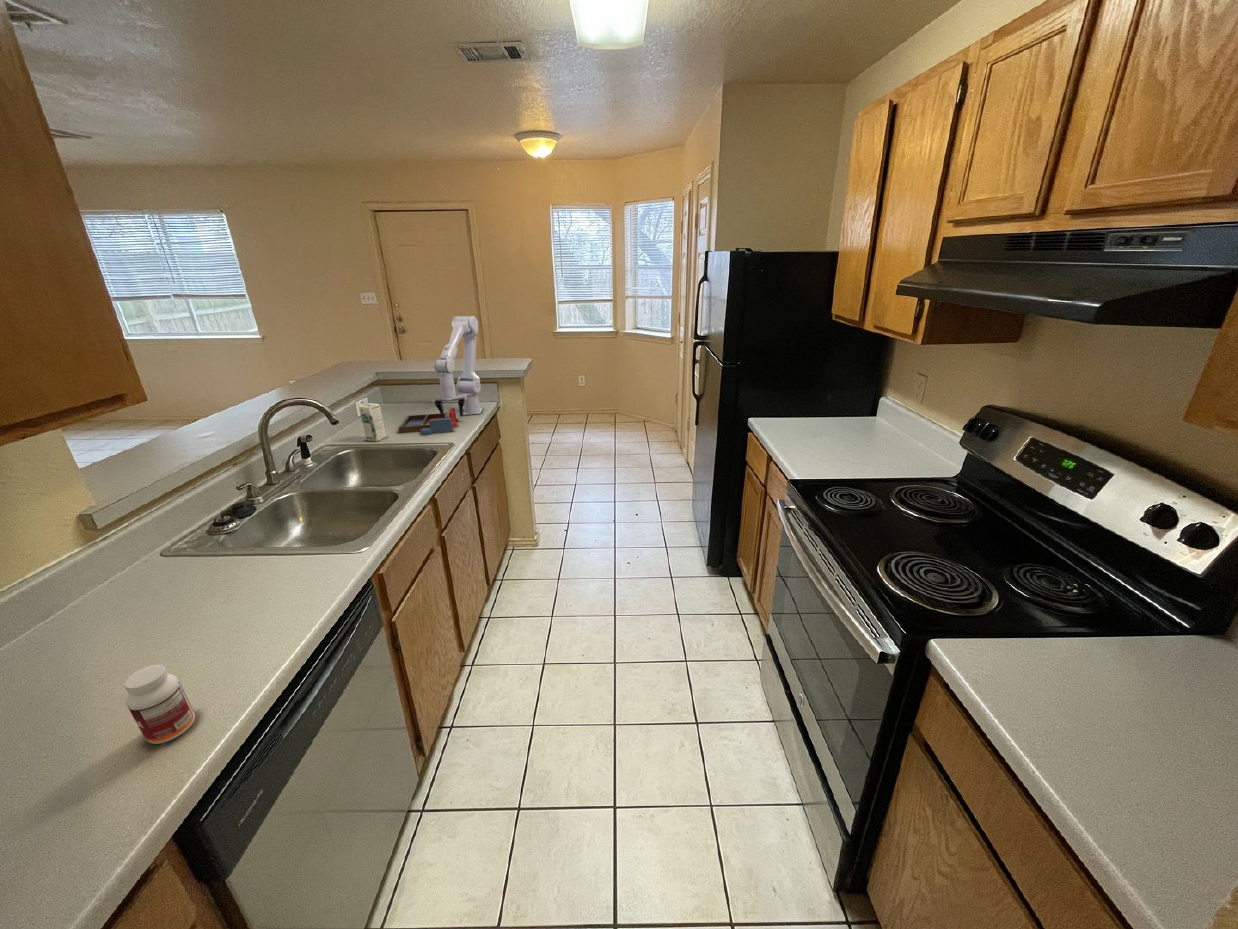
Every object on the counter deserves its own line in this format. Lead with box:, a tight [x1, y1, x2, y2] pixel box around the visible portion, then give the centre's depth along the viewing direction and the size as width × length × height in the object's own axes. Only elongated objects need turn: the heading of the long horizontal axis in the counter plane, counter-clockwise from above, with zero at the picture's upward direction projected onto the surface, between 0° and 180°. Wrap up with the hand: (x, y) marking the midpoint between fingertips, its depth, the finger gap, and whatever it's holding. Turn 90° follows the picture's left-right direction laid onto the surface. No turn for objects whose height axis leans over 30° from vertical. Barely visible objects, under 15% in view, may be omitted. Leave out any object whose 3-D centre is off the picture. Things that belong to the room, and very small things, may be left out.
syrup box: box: [358, 402, 387, 442], centre depth 206 cm, size 6×6×14 cm
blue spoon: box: [420, 418, 454, 436], centre depth 213 cm, size 13×4×6 cm, turn 100°
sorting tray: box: [398, 412, 449, 434], centre depth 224 cm, size 17×18×2 cm
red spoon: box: [447, 407, 458, 429], centre depth 224 cm, size 13×4×6 cm, turn 10°
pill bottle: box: [123, 664, 196, 745], centre depth 78 cm, size 6×6×11 cm
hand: (452, 416), depth 226 cm, fingers open, 7 cm apart
